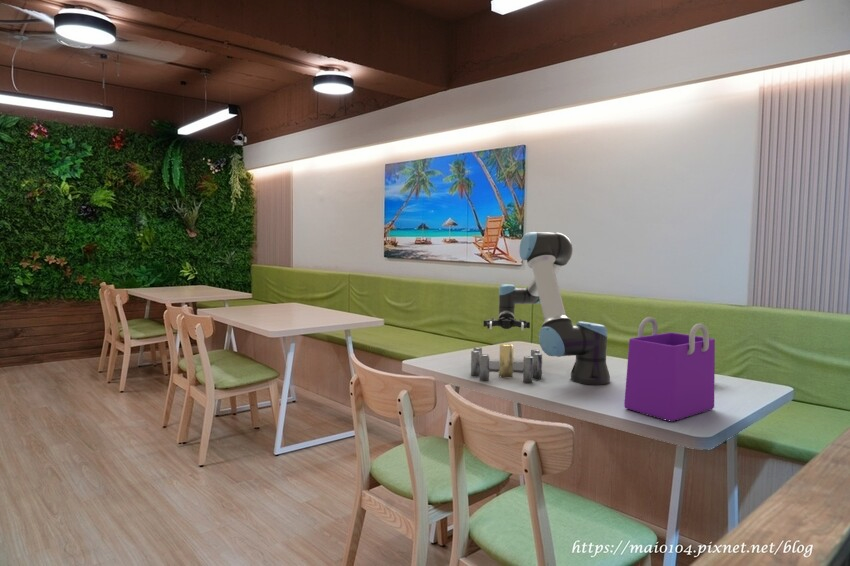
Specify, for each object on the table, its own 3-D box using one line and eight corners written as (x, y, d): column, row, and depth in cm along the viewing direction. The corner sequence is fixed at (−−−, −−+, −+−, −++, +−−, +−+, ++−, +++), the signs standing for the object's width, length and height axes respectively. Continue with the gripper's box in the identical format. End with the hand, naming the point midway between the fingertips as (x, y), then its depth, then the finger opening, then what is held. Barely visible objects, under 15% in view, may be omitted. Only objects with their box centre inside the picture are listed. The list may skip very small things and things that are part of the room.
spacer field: (540, 373, 229) (540, 349, 228) (543, 383, 212) (543, 358, 211) (472, 370, 233) (472, 347, 232) (469, 380, 216) (470, 355, 215)
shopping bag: (689, 427, 163) (694, 328, 161) (619, 411, 178) (622, 320, 176) (717, 407, 183) (722, 319, 181) (652, 394, 198) (655, 313, 196)
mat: (523, 364, 246) (523, 362, 246) (524, 372, 230) (525, 370, 230) (488, 362, 248) (488, 360, 248) (486, 370, 233) (487, 368, 232)
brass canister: (515, 376, 223) (516, 345, 222) (506, 378, 220) (507, 346, 219) (505, 373, 227) (505, 343, 226) (496, 375, 224) (496, 344, 223)
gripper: (533, 328, 251) (536, 336, 230) (479, 326, 255) (477, 334, 234) (534, 312, 251) (536, 319, 230) (479, 311, 254) (477, 317, 233)
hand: (506, 327), depth 232 cm, fingers open, 13 cm apart
